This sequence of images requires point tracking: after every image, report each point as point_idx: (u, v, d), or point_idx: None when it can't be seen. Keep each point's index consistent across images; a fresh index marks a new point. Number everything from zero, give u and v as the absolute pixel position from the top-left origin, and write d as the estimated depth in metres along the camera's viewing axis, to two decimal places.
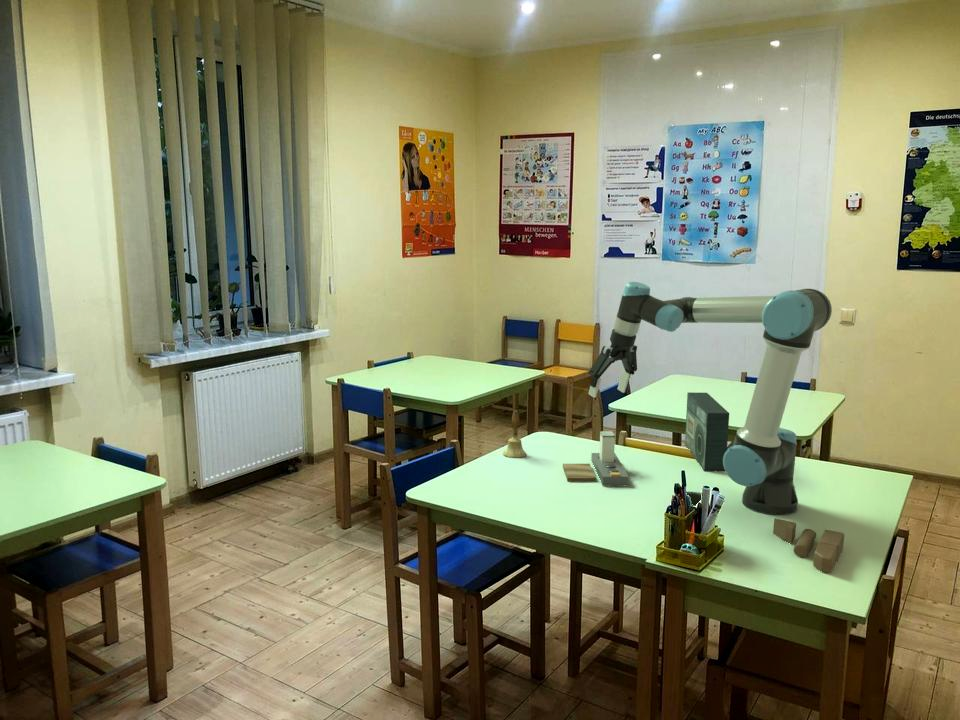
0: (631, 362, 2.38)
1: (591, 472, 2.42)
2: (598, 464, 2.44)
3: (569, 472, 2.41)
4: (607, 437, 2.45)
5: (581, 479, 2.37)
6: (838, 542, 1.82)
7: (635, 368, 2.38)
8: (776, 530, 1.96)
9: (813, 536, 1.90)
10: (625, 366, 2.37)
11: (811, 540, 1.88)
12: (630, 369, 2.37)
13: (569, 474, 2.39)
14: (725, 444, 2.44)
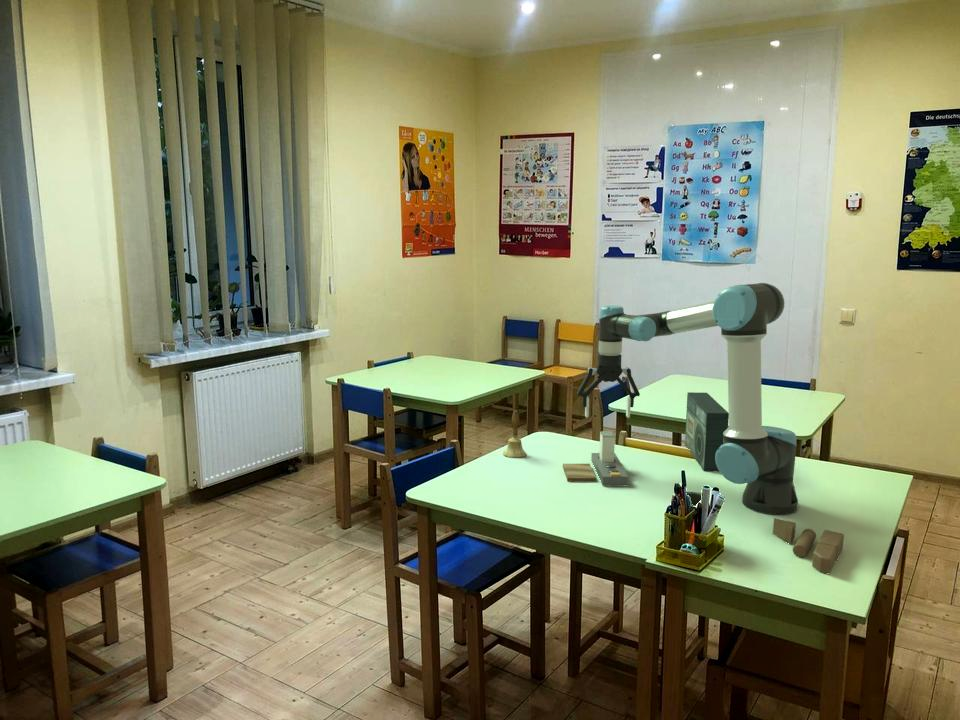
0: (632, 386, 2.44)
1: (591, 472, 2.42)
2: (598, 464, 2.44)
3: (569, 472, 2.41)
4: (607, 437, 2.45)
5: (581, 479, 2.37)
6: (837, 542, 1.82)
7: (636, 392, 2.44)
8: (776, 530, 1.96)
9: (813, 536, 1.90)
10: None
11: (811, 540, 1.88)
12: (629, 393, 2.44)
13: (569, 474, 2.39)
14: None
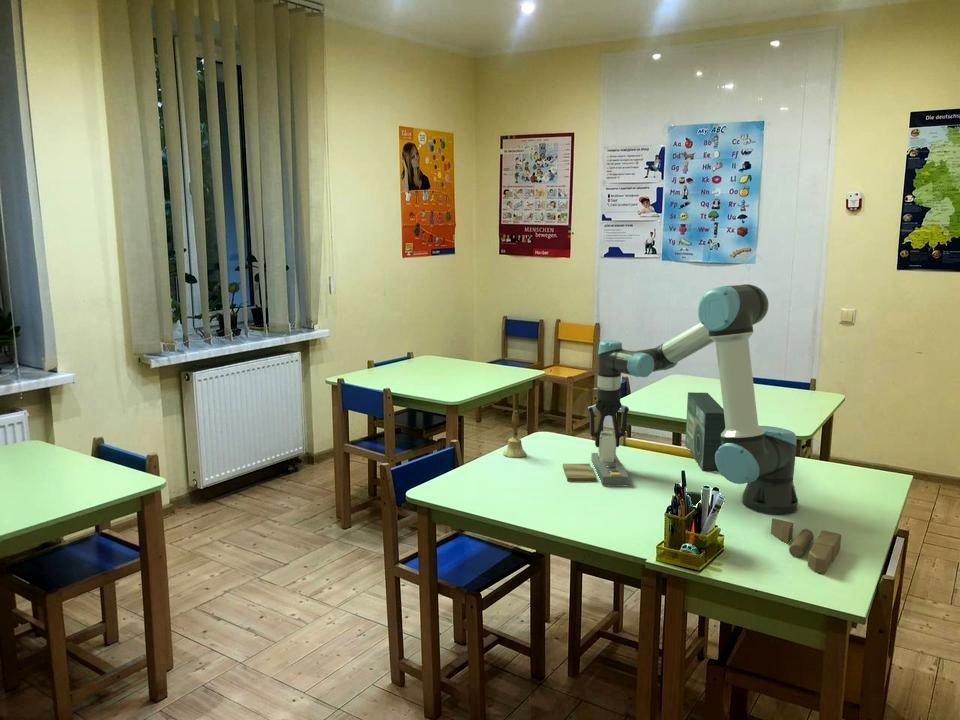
0: (621, 425, 2.47)
1: (591, 472, 2.42)
2: (598, 464, 2.44)
3: (569, 472, 2.41)
4: (607, 437, 2.45)
5: (581, 479, 2.37)
6: (834, 543, 1.82)
7: (623, 432, 2.46)
8: (774, 530, 1.96)
9: (810, 536, 1.90)
10: (614, 427, 2.47)
11: (808, 540, 1.88)
12: (616, 432, 2.46)
13: (569, 474, 2.39)
14: None
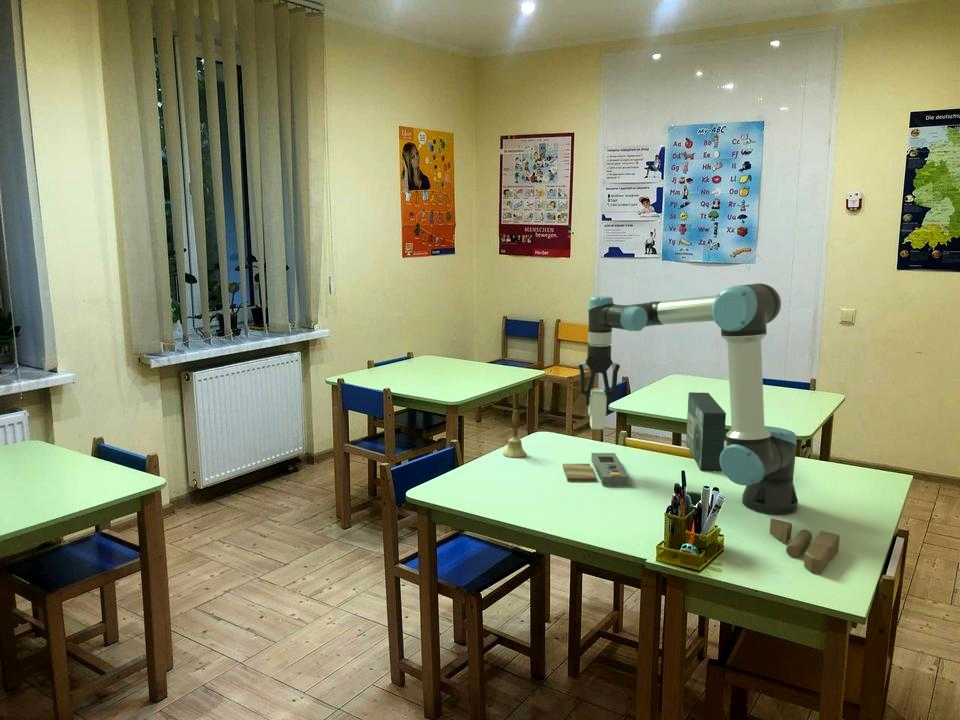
0: (612, 383, 2.42)
1: (591, 472, 2.42)
2: (598, 464, 2.44)
3: (569, 472, 2.41)
4: (597, 394, 2.40)
5: (581, 479, 2.37)
6: (831, 543, 1.82)
7: (613, 390, 2.41)
8: (773, 530, 1.96)
9: (808, 537, 1.90)
10: (604, 385, 2.42)
11: (806, 540, 1.88)
12: (607, 390, 2.41)
13: (569, 474, 2.39)
14: (722, 444, 2.44)
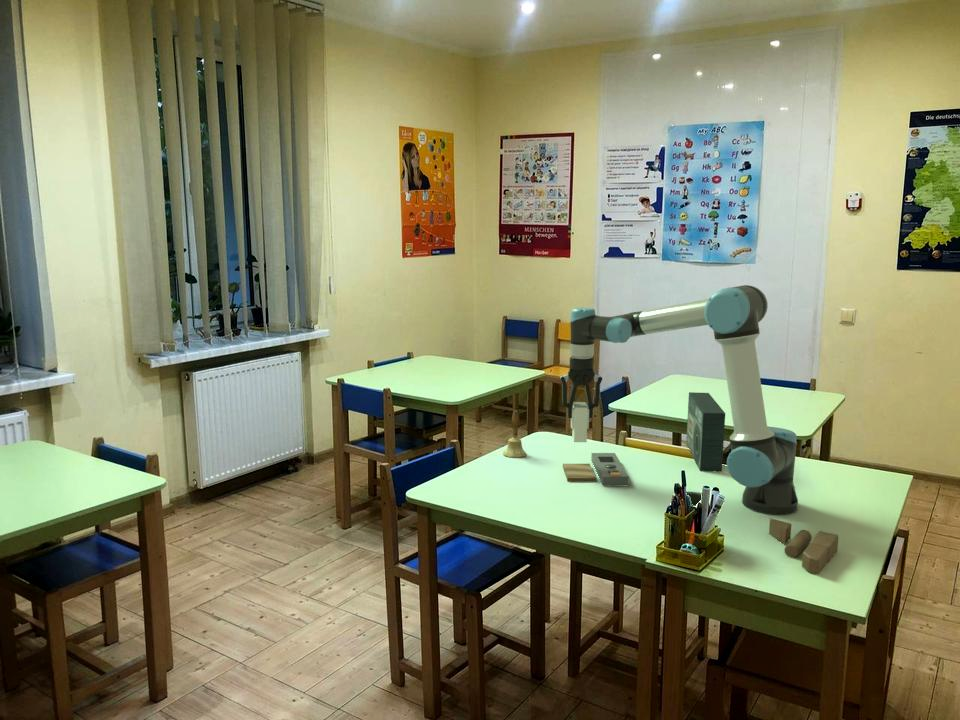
0: (594, 395, 2.39)
1: (591, 472, 2.42)
2: (598, 464, 2.44)
3: (569, 472, 2.41)
4: (580, 407, 2.37)
5: (581, 479, 2.37)
6: (830, 544, 1.81)
7: (596, 403, 2.38)
8: (772, 530, 1.96)
9: (807, 537, 1.89)
10: (587, 398, 2.39)
11: (804, 541, 1.88)
12: (590, 402, 2.38)
13: (569, 474, 2.39)
14: (721, 444, 2.44)
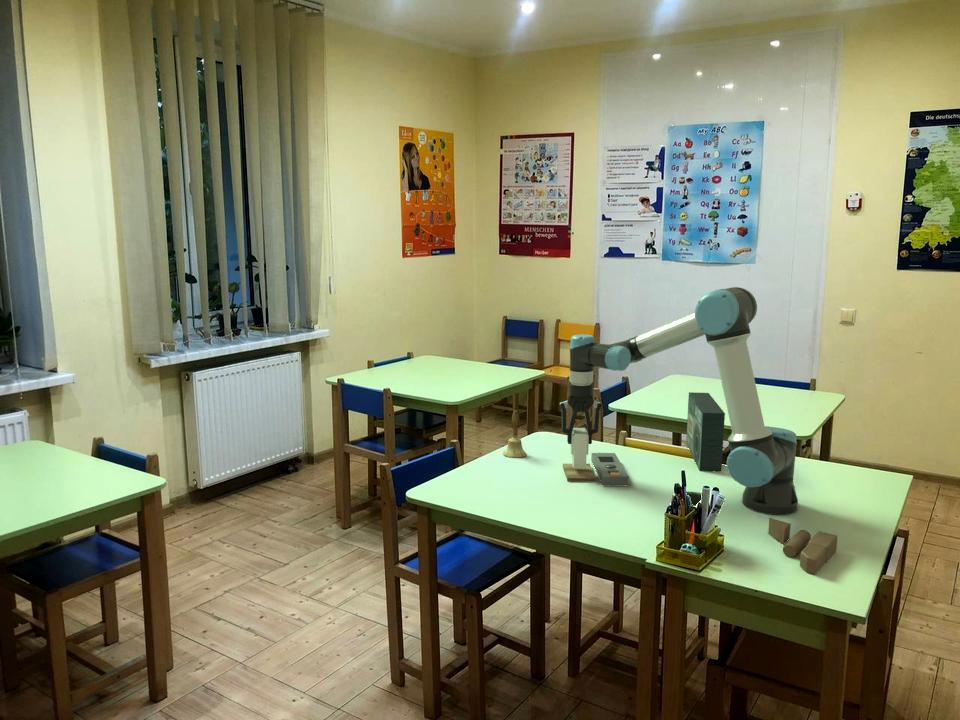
0: (594, 421, 2.40)
1: (591, 472, 2.42)
2: (598, 464, 2.44)
3: (569, 472, 2.41)
4: (579, 433, 2.39)
5: (581, 479, 2.37)
6: (828, 544, 1.81)
7: (595, 429, 2.40)
8: (771, 530, 1.96)
9: (806, 537, 1.89)
10: (586, 424, 2.41)
11: (803, 540, 1.87)
12: (589, 428, 2.40)
13: (569, 474, 2.39)
14: (721, 444, 2.44)
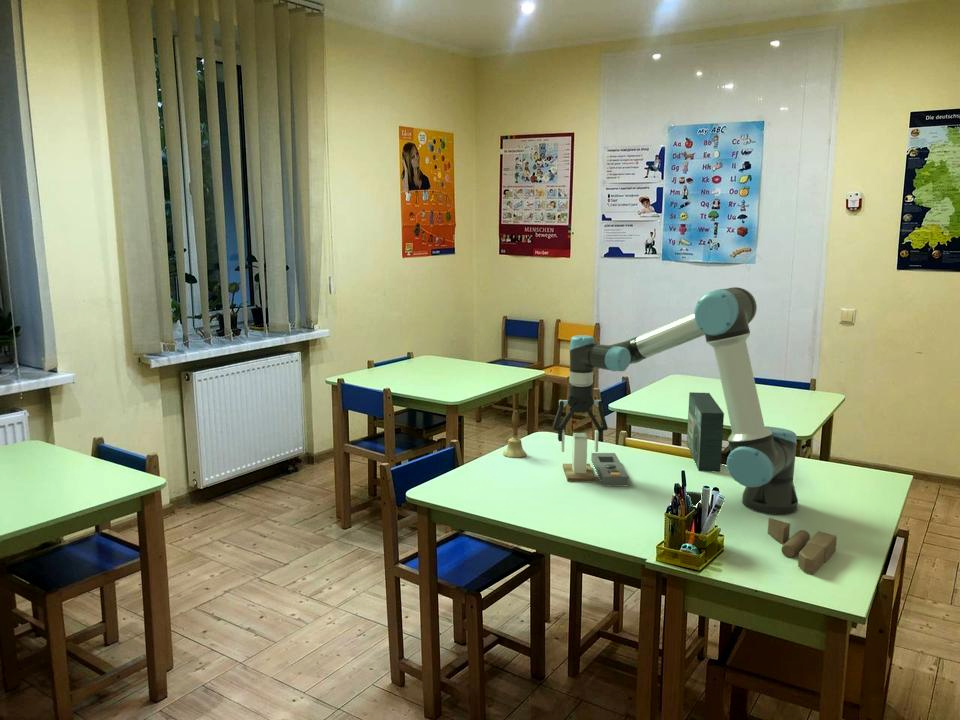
0: (601, 419, 2.40)
1: (591, 472, 2.42)
2: (598, 464, 2.44)
3: (569, 472, 2.41)
4: (580, 439, 2.39)
5: (581, 479, 2.37)
6: (827, 544, 1.81)
7: (604, 426, 2.39)
8: (770, 530, 1.96)
9: (805, 537, 1.89)
10: None
11: (802, 540, 1.87)
12: (597, 426, 2.39)
13: (569, 474, 2.39)
14: (720, 444, 2.44)
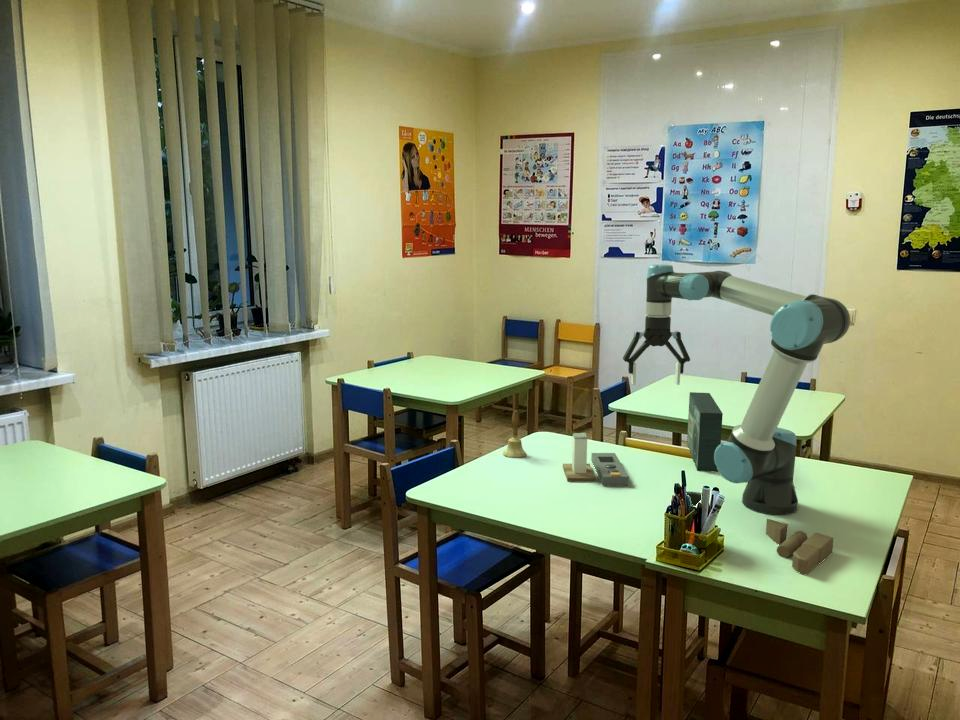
0: (681, 351, 2.29)
1: (591, 472, 2.42)
2: (598, 464, 2.44)
3: (569, 472, 2.41)
4: (579, 439, 2.39)
5: (581, 479, 2.37)
6: (822, 545, 1.81)
7: (687, 357, 2.28)
8: (768, 530, 1.96)
9: (802, 538, 1.89)
10: (674, 355, 2.29)
11: (798, 541, 1.87)
12: (679, 358, 2.28)
13: (569, 474, 2.39)
14: (718, 444, 2.44)
